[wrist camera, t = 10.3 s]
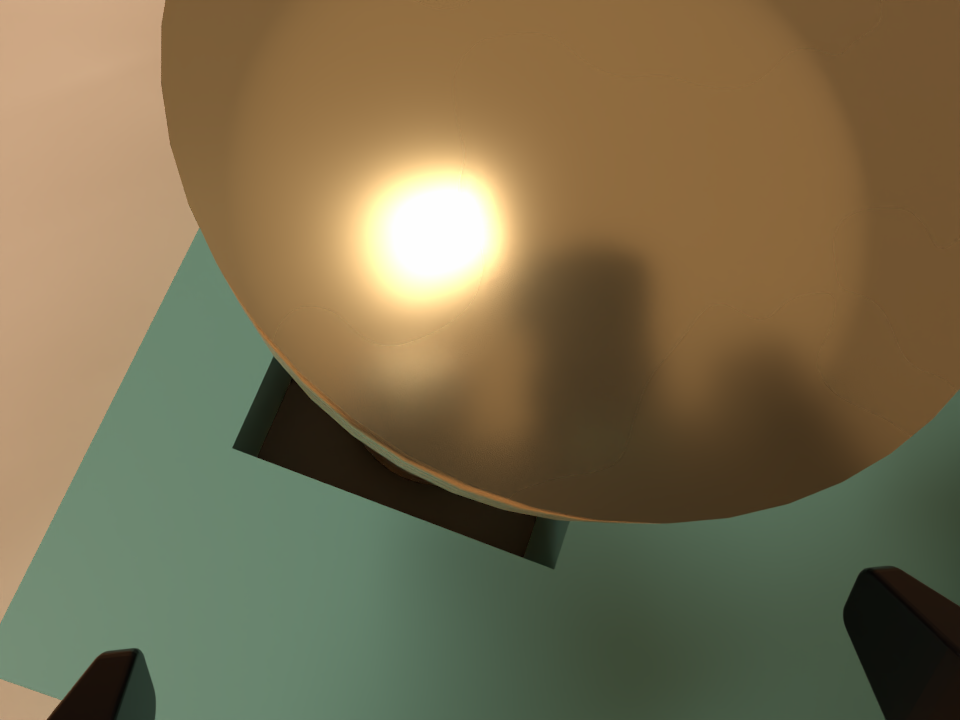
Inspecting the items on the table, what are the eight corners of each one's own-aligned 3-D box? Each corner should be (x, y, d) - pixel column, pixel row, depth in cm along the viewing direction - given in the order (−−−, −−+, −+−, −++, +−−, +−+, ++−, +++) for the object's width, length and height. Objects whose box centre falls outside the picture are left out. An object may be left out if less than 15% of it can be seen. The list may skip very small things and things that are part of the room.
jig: (1035, 307, 20) (1264, 233, 15) (925, 951, 16) (1184, 1150, 11) (351, 20, 19) (345, -167, 14) (50, 642, 15) (-114, 704, 10)
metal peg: (615, 392, 18) (1177, 103, 6) (442, 578, 17) (680, 755, 4) (441, 221, 18) (603, -422, 6) (255, 388, 17) (-64, 7, 4)
